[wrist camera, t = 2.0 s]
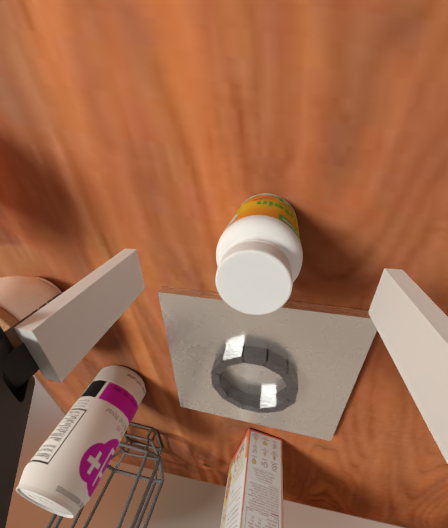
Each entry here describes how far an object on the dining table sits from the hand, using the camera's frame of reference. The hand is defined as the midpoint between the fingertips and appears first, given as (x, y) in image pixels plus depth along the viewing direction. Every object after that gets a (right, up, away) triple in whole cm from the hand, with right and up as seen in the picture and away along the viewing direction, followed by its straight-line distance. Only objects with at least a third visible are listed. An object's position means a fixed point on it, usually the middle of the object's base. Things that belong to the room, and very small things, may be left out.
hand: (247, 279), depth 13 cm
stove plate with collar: (+3, -12, +16) cm, 21 cm away
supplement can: (-18, -18, +25) cm, 36 cm away
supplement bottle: (+2, +4, +7) cm, 9 cm away
